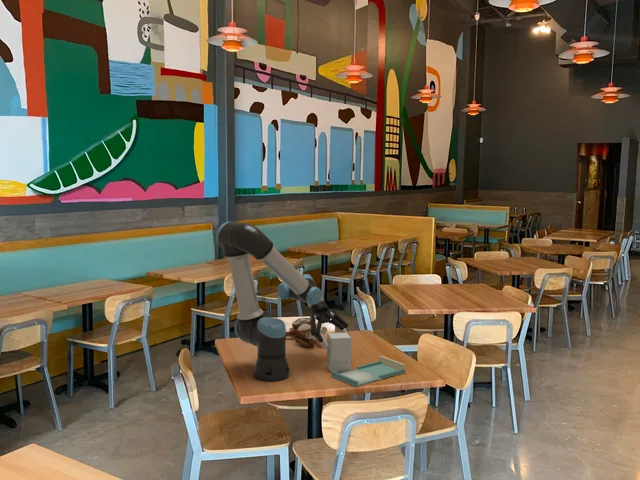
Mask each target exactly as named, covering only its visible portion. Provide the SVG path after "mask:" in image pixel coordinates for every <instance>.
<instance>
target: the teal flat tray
mask: <svg viewBox="0 0 640 480" xmlns="http://www.w3.org/2000/svg"><path fill="white" fill-rule="evenodd" d="M406 365H407V364H405V363H403V362H401V361H396V360H394V359H392V358H389V357H385V356H384V355H379V356H378V361H374V362H369V363H366V364H362V365H357V366H356V368H354V369H351V370H350V371H346V372H335V371H332V372H330V373H331V375H330V376H331V378H334V379H336V380H339V381H341V382H343V383H345V384H347V385H350V386H352V387H354V388H358V387H361V386H363V384H364V385H367V384H366V383H368V384H371V383H374V382H373V381H375V382H377V381H376V380H379V379H382V380H384V379H383V378H386V379H388V378H387V377H389V378H392V377H391V376H393V377H395V376H394V375H396V376H399V375H398V374H400V375H402V373H403V374H405V373H406V368H407V367H406ZM379 381H380V380H379ZM370 382H371V383H370ZM360 385H361V386H360Z"/></svg>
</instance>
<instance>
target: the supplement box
mask: <svg viewBox="0 0 640 480" xmlns="http://www.w3.org/2000/svg"><path fill="white" fill-rule="evenodd" d="M326 333H327V338H326V342H327V344H328V347H327V348H326V367H327V369H328V370H329V372H330V373H331V372H332V371H335V372H337V373H342V372H346V371H350V370H352V364H351V363H352V360H351V358H352V341H351V340H352V337H351V336H350V334H349V335H348V334H347V333H342V332H326Z"/></svg>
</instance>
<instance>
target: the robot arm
mask: <svg viewBox="0 0 640 480" xmlns="http://www.w3.org/2000/svg"><path fill="white" fill-rule="evenodd" d="M215 242H216V243H217V245H218V246H219V247H220V248H222V250H223V257H224V258H225V259H227V260H228V262H229V267H230V273H231V277H232V282H233V288H234V291H235V292H234V293H235V296H236V297H235V298H236V302H237V306H238V313H237V314H236V320H235V321H236V322H235V323H234V332H235V335H236V336H237V338H239V339H240V341H242V342H244V343H247V344H249V345H252V346H254V347H256V348H257V358H256V361H255V364H254V367H253V370H252V371H253V372H252V375H253V378H254V379H256V380H259V381H264V382H277V381H283V380H286V379H288V378H289V377H290V374H291V373H290V372H291V370H290V367H289V363H288V359H287V358H286V348H287V347H286V345H287V343H286V340H287V339H286V338H287V336H286V332H287V330H286V329H287V327H286V323H285V322H284V320H282V319H280V318H277V317H270V316H268V317H267V316H266V317H265V313H264V310H263V309H261V308H260V307H259V300H258V296H257V290H256V287H255V280H254V275H253V270H252V265H251V260H250V255H251V256H252V257H253V258H254V259H255V260H256V261H260V262H262V263H263V264H264V265H265V266H266V268H269V270H270V272H273V274H274V275H275V276H276V277H277V278H278V279H280V280H281V282H282V283H279V285H278V286H277V294H278V297H279V298H280V299H281V300H294V301H296V302H297V301H298V302H301V303H305V304H307V305H308V308H309V310H310V312H311V315H310V316H309V317H308V318H309V319H310V321H311V335H312V336H314V337H315V339H317V341H318V342H319V343H320V344H321V346H322V348H323V350H327V347H328V344H327V339H325V335H322V333H321V334H320V331H321V329H322V327H323V325H324V324H328V323H329V324H332V325H333V326H334V327H336V328H338V329H339V330H341V331H340V333H347V334H348V335H349V336H350V332H349V331H348V329H347V328H348V327H350V326H349V324H348V322H347V321H345V319H343V318H342V317H341V316H340V315H339V314H337V312H336V310H332V311H329V308H328V305H327V303H326V302H325V299H324V298H323V293H322V292H323V291H322V290H321V289H320V288H319V287H317V285H316V282H315V280H314V279H313V277H312V276H311V274H309V273H306V274H303V275H302V274H301V273H300V272H299V270H297V269H296V268H295V267H294V266H293V265H292V264H291V263H290V262H289V261H288V260H287V258H285V257H284V255H282V253H280V252H279V251H278V250H277V249H276V247H275V244H274V242H273V241H272V240H271V239H270V238H269V236H267V235H266V234H265V233H264V232H263V231H262V230H260V229H259V228H258V227H257V226H255V225H254V224H252V223H246V222H238V221H226V222H223V223H222V224H221V225H220V226H219V227H218V229H217V231H216V234H215ZM316 324H317V328H316ZM351 342H352V339H351Z"/></svg>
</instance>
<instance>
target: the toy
mask: <svg viewBox="0 0 640 480" xmlns="http://www.w3.org/2000/svg"><path fill="white" fill-rule="evenodd" d="M291 326H292V327H290V328H289V331H286V337H289V336H297V337H298V338H297V337H296V338H295V339H294V342H295V343H298V344H299V345H301V346H302V347H305V348H306V349H307V348H311V347H314V345H315V340H316V338H315V337H314V336H312V335H311V321H310V319H309V317H300V318H297V319H296V320H294V321H292V323H291ZM316 328H317V323H316ZM328 332H329V331H328V328H327V327H326V326H323V325H322V326H321V331H320V334H321V333H322V335H323V336H325V334H326V333H328ZM306 341H307V342H306Z"/></svg>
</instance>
